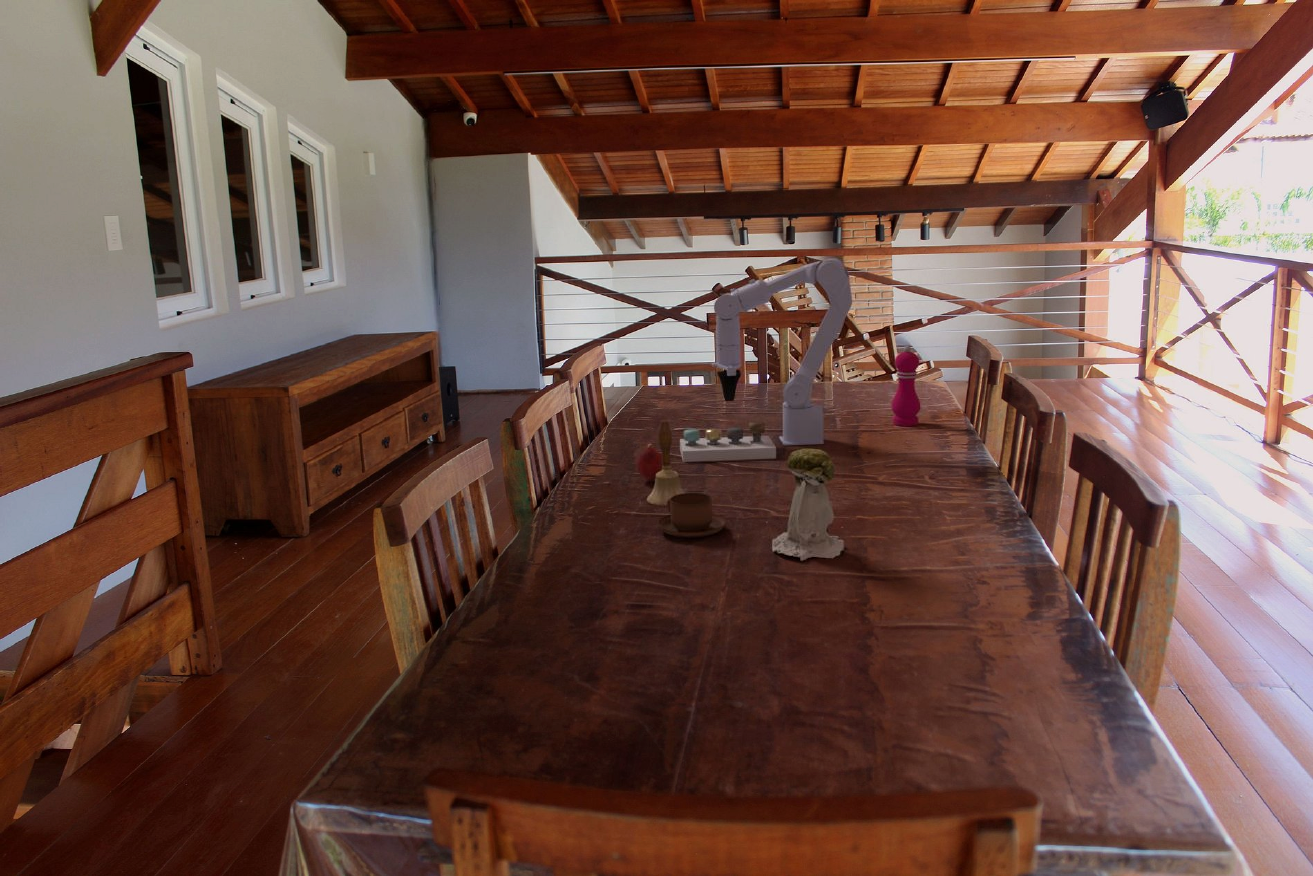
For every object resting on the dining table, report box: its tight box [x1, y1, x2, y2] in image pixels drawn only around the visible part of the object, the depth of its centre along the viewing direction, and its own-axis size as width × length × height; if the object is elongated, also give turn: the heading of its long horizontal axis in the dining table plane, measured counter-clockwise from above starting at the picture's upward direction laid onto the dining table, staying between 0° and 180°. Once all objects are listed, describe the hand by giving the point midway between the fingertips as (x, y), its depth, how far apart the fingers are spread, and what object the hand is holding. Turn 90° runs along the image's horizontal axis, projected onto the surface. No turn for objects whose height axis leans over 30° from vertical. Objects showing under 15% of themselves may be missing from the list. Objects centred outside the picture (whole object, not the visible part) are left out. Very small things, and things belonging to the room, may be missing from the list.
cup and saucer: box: [657, 492, 727, 538], centre depth 177 cm, size 12×12×6 cm
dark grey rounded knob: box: [726, 427, 744, 445], centre depth 230 cm, size 4×4×4 cm
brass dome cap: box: [705, 428, 722, 445], centre depth 230 cm, size 4×4×4 cm
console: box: [679, 435, 777, 463], centre depth 231 cm, size 21×12×2 cm, turn 92°
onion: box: [636, 443, 663, 482], centre depth 210 cm, size 6×6×8 cm
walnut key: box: [748, 421, 766, 442], centre depth 230 cm, size 4×4×4 cm
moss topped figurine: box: [771, 448, 845, 561], centre depth 165 cm, size 11×12×17 cm
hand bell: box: [646, 419, 686, 507], centre depth 195 cm, size 8×8×16 cm
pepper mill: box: [890, 345, 921, 427], centre depth 253 cm, size 7×7×20 cm
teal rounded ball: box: [683, 428, 701, 446], centre depth 230 cm, size 4×4×4 cm
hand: (729, 400), depth 242 cm, fingers closed
